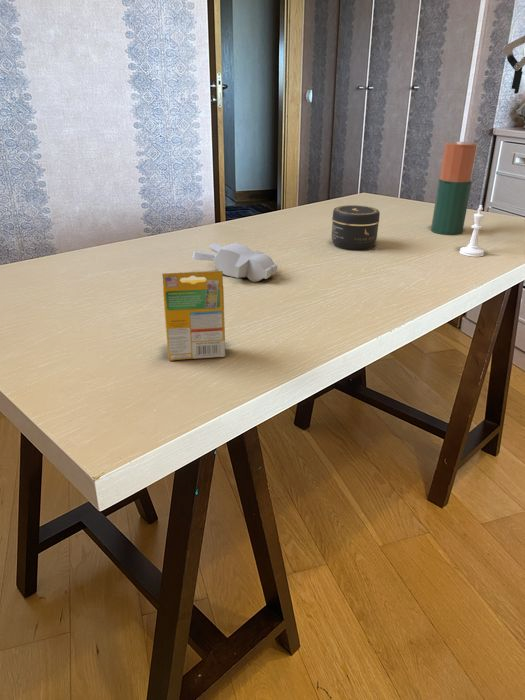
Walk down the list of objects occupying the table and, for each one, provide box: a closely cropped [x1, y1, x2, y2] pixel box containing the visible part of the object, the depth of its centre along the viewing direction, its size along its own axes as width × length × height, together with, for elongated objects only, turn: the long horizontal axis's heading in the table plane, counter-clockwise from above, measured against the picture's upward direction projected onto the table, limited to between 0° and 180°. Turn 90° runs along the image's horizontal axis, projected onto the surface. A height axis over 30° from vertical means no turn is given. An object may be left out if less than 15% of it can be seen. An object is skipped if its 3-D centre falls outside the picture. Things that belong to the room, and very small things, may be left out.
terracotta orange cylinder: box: [439, 141, 478, 182], centre depth 121 cm, size 7×7×8 cm
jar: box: [331, 204, 381, 251], centre depth 114 cm, size 10×10×8 cm
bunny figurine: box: [191, 242, 279, 283], centre depth 97 cm, size 10×5×15 cm
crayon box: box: [161, 270, 226, 362], centre depth 66 cm, size 7×3×12 cm, turn 99°
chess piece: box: [458, 204, 485, 258], centre depth 109 cm, size 5×5×10 cm
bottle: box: [430, 178, 473, 236], centre depth 124 cm, size 7×7×16 cm
